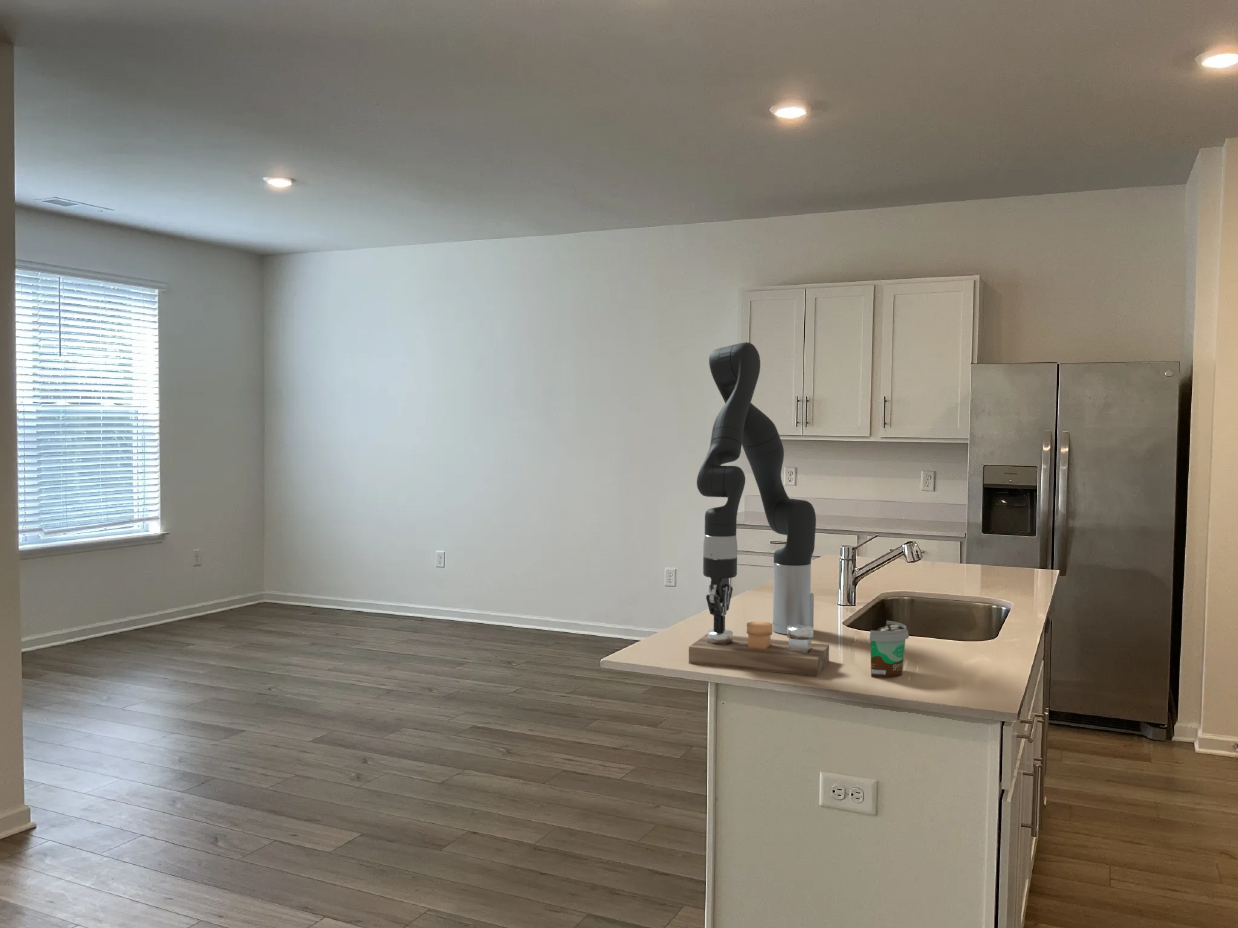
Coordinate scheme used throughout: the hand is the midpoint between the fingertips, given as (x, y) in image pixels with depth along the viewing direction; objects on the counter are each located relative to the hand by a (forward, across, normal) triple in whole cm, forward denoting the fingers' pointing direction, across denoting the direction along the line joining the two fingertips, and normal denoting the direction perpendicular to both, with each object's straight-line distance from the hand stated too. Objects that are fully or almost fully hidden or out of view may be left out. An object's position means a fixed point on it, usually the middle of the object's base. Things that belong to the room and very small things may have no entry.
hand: (719, 631), depth 219 cm
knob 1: (+6, 0, 0) cm, 6 cm away
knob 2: (+3, 0, +18) cm, 18 cm away
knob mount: (+6, 0, +9) cm, 11 cm away
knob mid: (+3, 0, +9) cm, 10 cm away
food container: (+6, -2, +38) cm, 38 cm away
